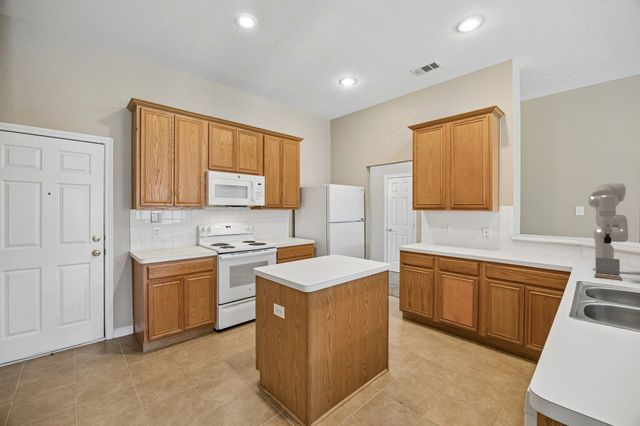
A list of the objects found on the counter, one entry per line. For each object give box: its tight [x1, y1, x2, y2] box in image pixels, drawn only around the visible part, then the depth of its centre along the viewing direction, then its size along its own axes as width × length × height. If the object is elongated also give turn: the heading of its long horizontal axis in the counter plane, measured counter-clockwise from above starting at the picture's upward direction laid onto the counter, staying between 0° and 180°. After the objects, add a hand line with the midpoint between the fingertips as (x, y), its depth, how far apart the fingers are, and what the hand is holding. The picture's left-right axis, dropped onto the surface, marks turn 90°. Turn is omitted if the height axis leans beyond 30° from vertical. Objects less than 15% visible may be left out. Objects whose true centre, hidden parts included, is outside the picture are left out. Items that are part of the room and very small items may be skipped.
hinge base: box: [594, 273, 623, 282], centre depth 181 cm, size 13×12×2 cm
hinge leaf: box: [595, 257, 621, 277], centre depth 185 cm, size 13×11×2 cm
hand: (607, 243), depth 180 cm, fingers closed
